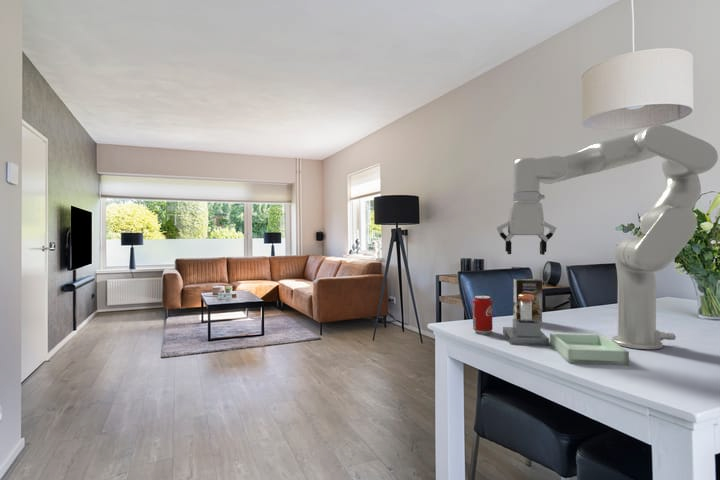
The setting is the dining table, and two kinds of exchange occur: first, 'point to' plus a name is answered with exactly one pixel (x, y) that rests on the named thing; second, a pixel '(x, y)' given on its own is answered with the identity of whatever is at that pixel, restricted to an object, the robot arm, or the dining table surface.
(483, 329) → the beverage can
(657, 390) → the dining table surface
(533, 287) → the coffee box
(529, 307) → the lock pin
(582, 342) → the tray
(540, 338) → the bracket
